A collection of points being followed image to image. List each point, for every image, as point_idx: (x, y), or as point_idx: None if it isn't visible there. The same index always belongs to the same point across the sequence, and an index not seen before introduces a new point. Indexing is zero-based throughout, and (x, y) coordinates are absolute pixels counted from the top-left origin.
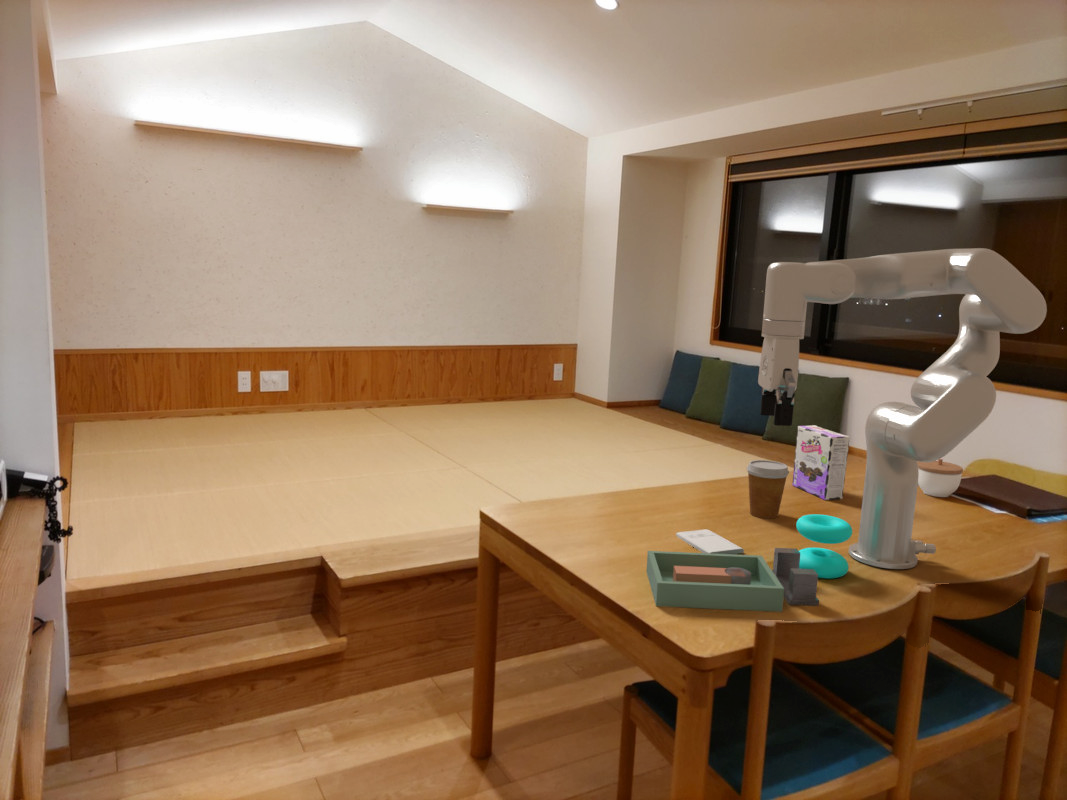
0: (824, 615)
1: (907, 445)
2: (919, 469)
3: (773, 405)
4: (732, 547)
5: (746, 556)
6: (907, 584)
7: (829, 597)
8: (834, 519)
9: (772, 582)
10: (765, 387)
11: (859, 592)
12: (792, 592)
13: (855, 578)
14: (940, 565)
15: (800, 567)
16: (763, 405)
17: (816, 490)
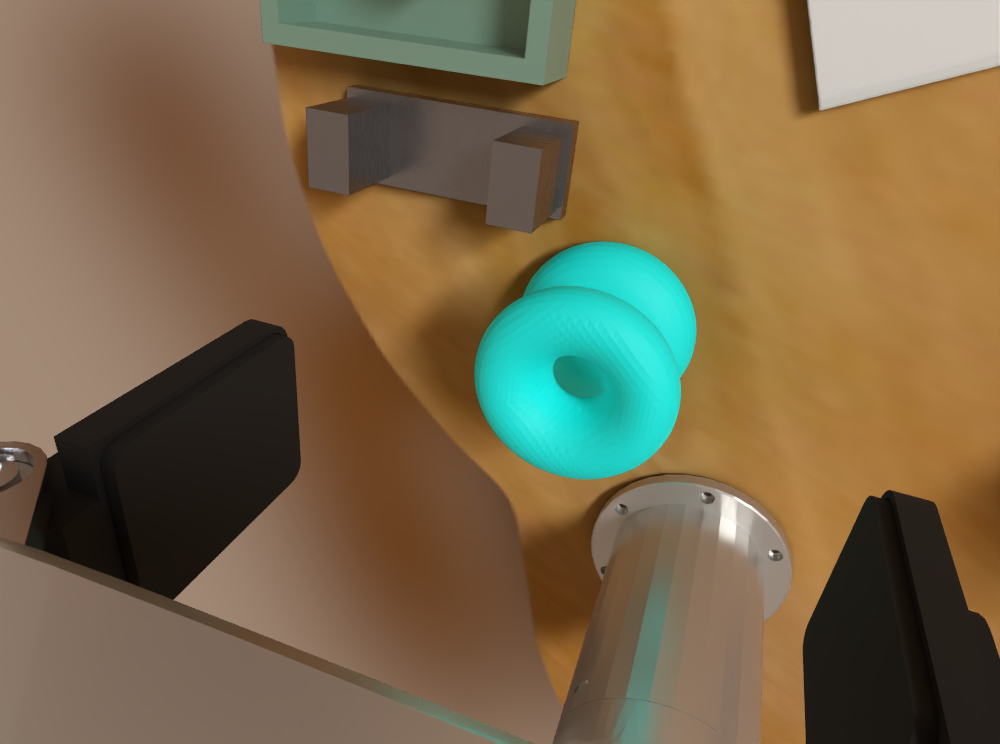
0: (304, 160)
1: None
2: None
3: (828, 710)
4: (841, 58)
5: (534, 11)
6: (504, 487)
7: (414, 237)
8: (590, 449)
9: (326, 29)
10: (100, 610)
11: (451, 339)
12: (342, 99)
13: None
14: None
15: (577, 245)
16: (886, 599)
17: None
